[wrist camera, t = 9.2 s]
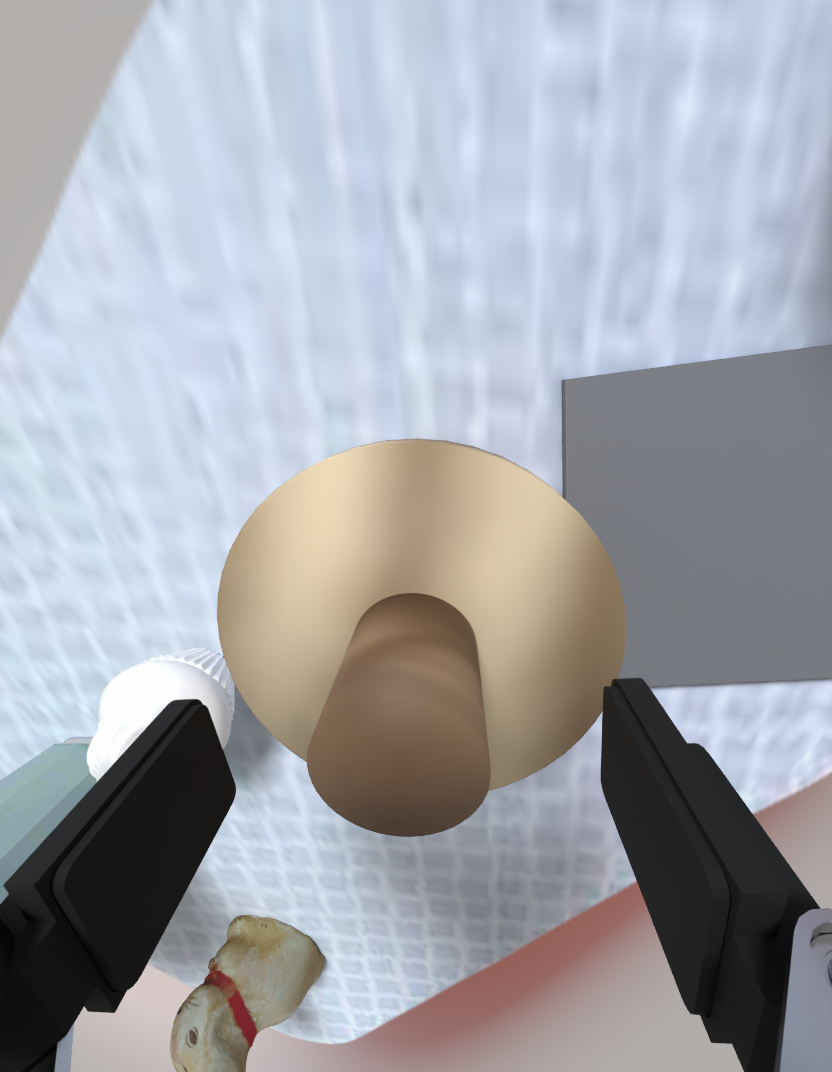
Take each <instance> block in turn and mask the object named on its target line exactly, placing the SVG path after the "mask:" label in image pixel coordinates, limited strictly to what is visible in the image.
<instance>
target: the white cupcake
mask: <svg viewBox="0 0 832 1072" xmlns="http://www.w3.org/2000/svg"><path fill="white" fill-rule="evenodd" d="M182 699H199V700H200V701H201V702H202V703H203V705H206V706H207V708H208V709H209V712H210V715H211V718H212V721H213V723H214V726H215V729H216V732H217V735H218V737H219V740H220V743H221V746H222V749H223V750H224V748H225V746H226V745H227V742H228V740H229V737H230V732H231V722H232V721H233V714H234V707H235V684H234V682H233V680H232V677H231V675H230V672H229V670H228V667H227V665H226V662H225V659H224V658H223V656H222V655H219V654H218V652H215V651H214V650H212V651H210V650H209V649H204V648H194V649H189V650H184V651H180V652H174V653H170V654H165V655H161V656H156V657H152V658H151V659H150V660H146V661H143V662H142V663H140V664H137V665H135V666H132V667H130V668H128V669H127V670H125V671H123V672H122V673H120V674H119V675H118V676H116V677H115V678H114V679H113V680H112V681H111V682H110V683H109V684H108V685H107V687H106V688H105V690H104V691H103V694H102V696H101V699H100V703H99V708H98V721H99V725H98V732H97V733H96V734H95V735H94V737H93V739H92V741H91V743H90V746H89V748H88V751H87V764H88V766H89V771H90V773H91V775H92V776H93V777H95V778H96V781H98V780H99V779H100V778H101V777H102V776H103V775H104V774H105V773H106V772H107V770H108V769H109V768H110V767H111V766H112V765H113V764H114V763H115V762H116V761H117V759H118V758H119V757H120V756H121V755H122V754H123V753H124V752H125V751H126V750H127V749H128V747H129V746H130V745H131V744H132V743H133V742H134V741H135V740H136V739H137V738H138V736H139V735H140V734H141V733H142V732H143V731H144V730H145V729H146V728H147V727H148V725H149V724H150V723H151V722H152V721H153V720H154V719H155V718H156V717H157V716H158V714H159V713H160V712H161V711H162V710H163V709H164V708H165V707H166V706H167V705H168V704H169V703H170V702H171V701H173V700H182Z"/></svg>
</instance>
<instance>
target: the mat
mask: <svg viewBox="0 0 832 1072" xmlns="http://www.w3.org/2000/svg"><path fill="white" fill-rule="evenodd" d="M562 445H563V498H564V499H565V500H566V501H567V502H568V503H569V504H570V505H571V506H572V507H573V508H574V509H575V510H576V511H577V512H578V513H580V515H581V516H582V517H583V518H584V520H585V521H586V522H587V524H588V525H589V526H590V527H591V529H592V530H593V531H594V532H595V534H596V535H597V536H598V538H599V540H600V542H601V543H602V545H603V547H604V549H605V550H606V552H607V554H608V556H609V557H610V559H611V561H612V564H613V567H614V569H615V572H616V575H617V577H618V580H619V583H620V586H621V591H622V596H623V600H624V605H625V612H626V643H625V651H624V659H623V662H622V666H621V670H620V673H619V677H618V679H622V678H642V679H643V680H644V681H645V682H646V684H647V685H648V687H655V686H677V685H698V684H719V683H740V682H762V681H783V680H804V679H825V678H832V345H826V346H819V347H811V348H804V349H796V350H788V351H781V352H773V353H765V354H758V355H750V356H743V357H735V358H727V359H720V360H712V361H704V362H697V363H689V364H681V365H674V366H666V367H659V368H651V369H643V370H636V371H628V372H620V373H613V374H605V375H597V376H590V377H582V378H575V379H567V380H562Z"/></svg>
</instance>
